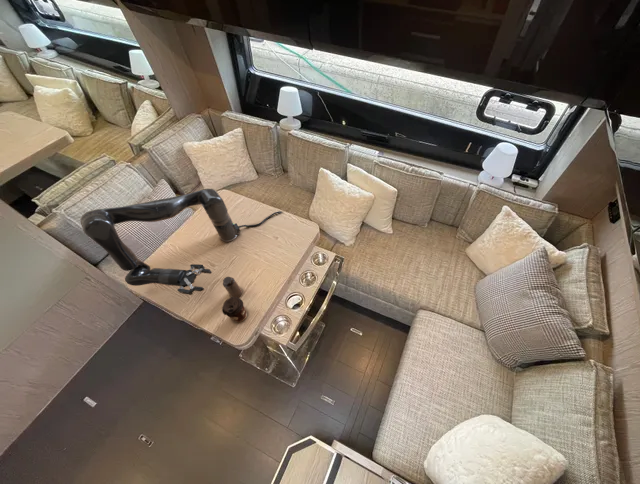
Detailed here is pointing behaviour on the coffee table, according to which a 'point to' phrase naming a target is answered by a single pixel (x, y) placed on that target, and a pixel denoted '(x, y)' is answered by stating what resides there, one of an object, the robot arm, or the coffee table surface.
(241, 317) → the dark brown cylinder
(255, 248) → the coffee table surface
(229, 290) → the pepper mill
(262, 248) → the coffee table surface
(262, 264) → the coffee table surface
